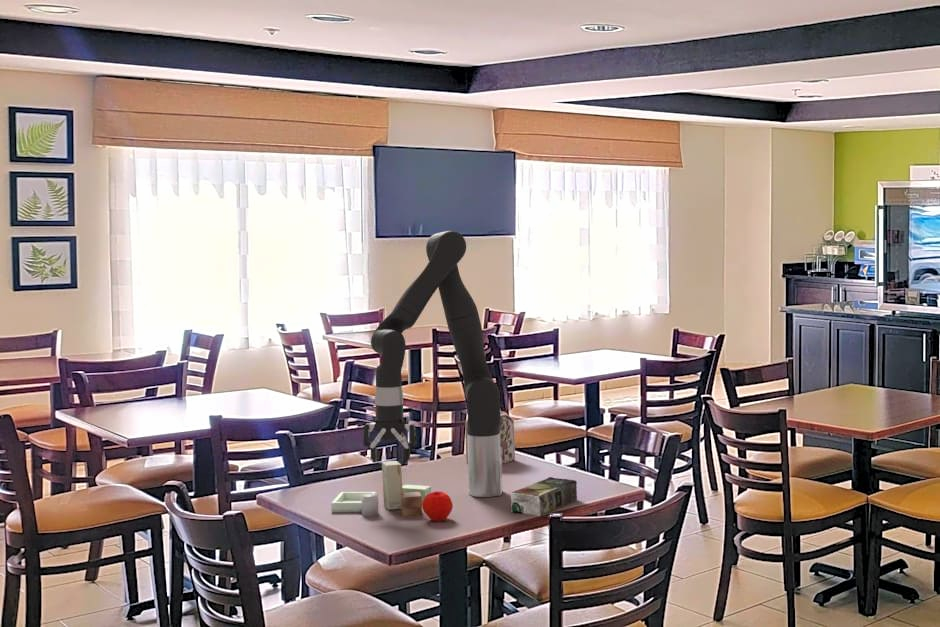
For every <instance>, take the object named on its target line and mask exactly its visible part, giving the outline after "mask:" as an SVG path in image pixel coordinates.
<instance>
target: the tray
mask: <svg viewBox="0 0 940 627" xmlns="http://www.w3.org/2000/svg"><path fill="white" fill-rule="evenodd" d="M364 494H377V491H341V492H340V493H339V494H338V495H337V496H336V497H335V498H334V499H333V500H332V501H331V503H330V506H331V513H362V502H361V496H362V495H364Z"/></svg>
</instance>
